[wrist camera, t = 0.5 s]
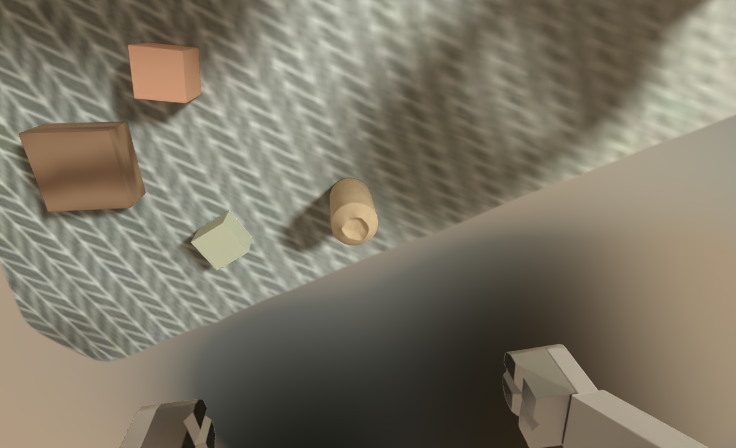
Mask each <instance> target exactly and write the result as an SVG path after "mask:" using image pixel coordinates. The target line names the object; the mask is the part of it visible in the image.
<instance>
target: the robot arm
mask: <svg viewBox="0 0 736 448" xmlns="http://www.w3.org/2000/svg"><path fill="white" fill-rule="evenodd" d="M504 364H505V366H506V368H507V371H506V373H505V374H504V375H503V388H504V394H505V397H506V400H507V403H508V405H509V407H510V409H511V411H512V412H513V413H515V414H516V415H518V416H519V428H520V430H521V432H522V434H523V436H524V438H525V440H526V442H527V444H528V446H529V448H542V447H549V446H556V445H563V447H564V448H708V447H706V446H705V445H703V444H701V443H699V442H697V441H695V440H694V439H692V438H690V437H688V436H686V435H684V434H683V433H681V432H679V431H677V430H676V429H674V428H672V427H670V426H668V425H666V424H664V423H663V422H661V421H659V420H657V419H656V418H654V417H652V416H650V415H648V414H646V413H645V412H643V411H641V410H639V409H637V408H636V407H634V406H632V405H630V404H628V403H626V402H625V401H623V400H621V399H619V398H617V397H616V396H614V395H612V394H610V393H608V392H607V391H605V390H600V391H598V390H597V388H596V387H595V386H594V384H593V383H592V382H591V381H590V379H589V378H588V377H587V375H586V374H585V373H584V372H583V370H582V369H581V367H580V366H579V365H578V364H577V362H576V361H575V360H574V358H573V357H572V356H571V355H570V353H569V352H568V350H567V349H566V348H565V346H563V345H561V344H557V345H551V346H545V347H537V348H531V349H525V350H519V351H513V352H507V353H506V355H505V357H504ZM206 409H207V407H206V405H205V403H204V401H203V400H202V399H197V400H189V401H181V402H173V403H165V404H160V405H151V406H143V407H141V408H140V409H139V410H138V411H137V412H136V415H135V417H134V419H133V421H132V423H131V425H130V427H129V429H128V431H127V433H126V436H125V437H124V440H123V442H122V444H121V446H120V448H215V430H214V425H213V423H212V420H211V419H209V418H207V417H206V416H205V413H206Z"/></svg>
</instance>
